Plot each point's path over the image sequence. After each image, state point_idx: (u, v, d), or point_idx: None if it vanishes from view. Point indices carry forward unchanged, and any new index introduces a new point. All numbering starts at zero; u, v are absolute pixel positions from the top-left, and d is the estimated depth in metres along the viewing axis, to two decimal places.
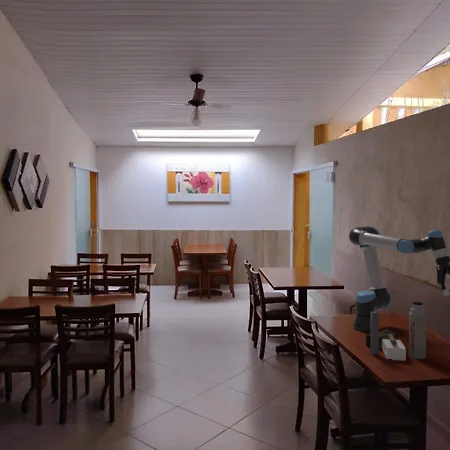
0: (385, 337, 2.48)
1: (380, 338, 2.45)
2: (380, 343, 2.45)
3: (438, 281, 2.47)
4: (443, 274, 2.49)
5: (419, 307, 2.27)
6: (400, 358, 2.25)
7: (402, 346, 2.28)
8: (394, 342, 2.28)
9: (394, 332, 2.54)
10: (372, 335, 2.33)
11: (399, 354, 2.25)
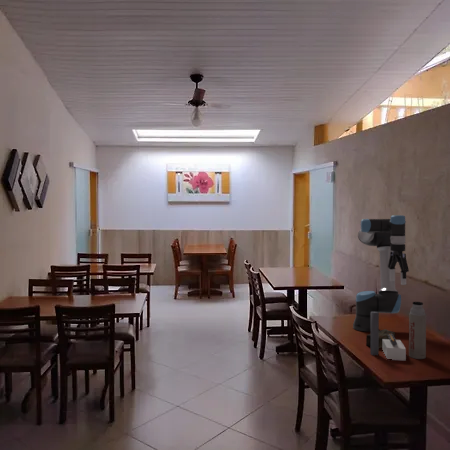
0: (385, 337, 2.48)
1: (381, 338, 2.45)
2: (381, 343, 2.45)
3: None
4: None
5: (419, 307, 2.27)
6: (400, 358, 2.25)
7: (402, 346, 2.28)
8: (394, 342, 2.28)
9: (393, 332, 2.55)
10: (372, 335, 2.33)
11: (399, 354, 2.25)
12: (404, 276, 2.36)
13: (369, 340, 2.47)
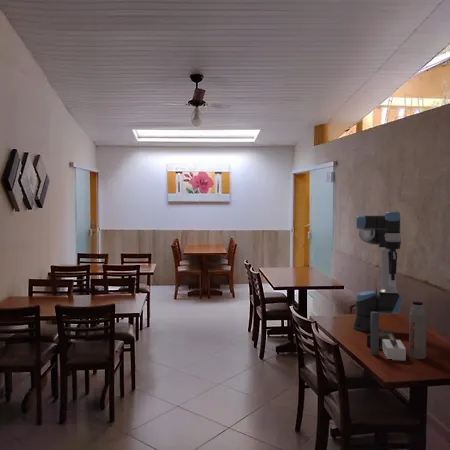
0: (385, 337, 2.48)
1: (382, 338, 2.45)
2: None
3: None
4: None
5: (419, 307, 2.27)
6: (400, 358, 2.25)
7: (402, 346, 2.28)
8: (394, 342, 2.28)
9: (392, 331, 2.56)
10: (372, 335, 2.33)
11: (399, 354, 2.25)
12: (392, 278, 2.34)
13: (370, 340, 2.46)
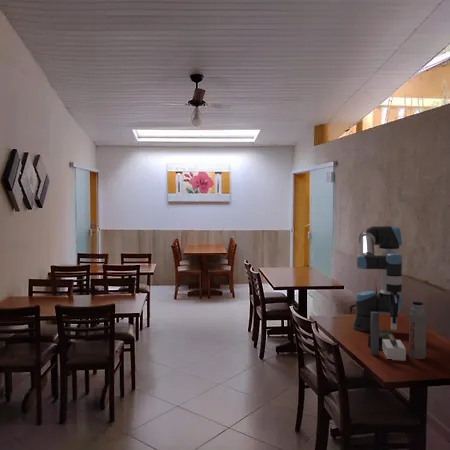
0: (386, 336, 2.49)
1: (383, 338, 2.45)
2: None
3: None
4: None
5: (419, 307, 2.27)
6: (400, 358, 2.25)
7: (402, 346, 2.28)
8: (394, 342, 2.28)
9: (389, 331, 2.57)
10: (372, 335, 2.33)
11: (399, 354, 2.25)
12: (394, 321, 2.30)
13: None
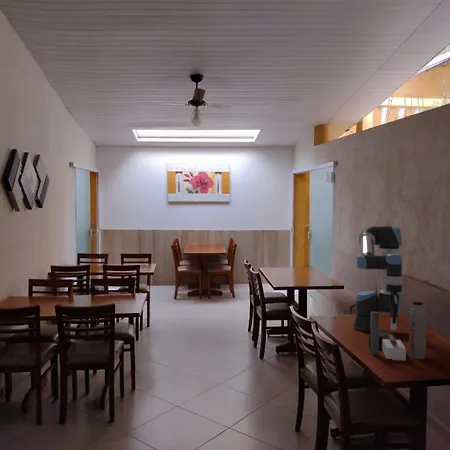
0: (386, 336, 2.49)
1: (384, 338, 2.45)
2: None
3: None
4: None
5: (419, 307, 2.27)
6: (400, 358, 2.25)
7: (402, 346, 2.28)
8: (394, 342, 2.28)
9: (388, 330, 2.58)
10: (372, 335, 2.33)
11: (399, 354, 2.25)
12: (394, 321, 2.30)
13: None
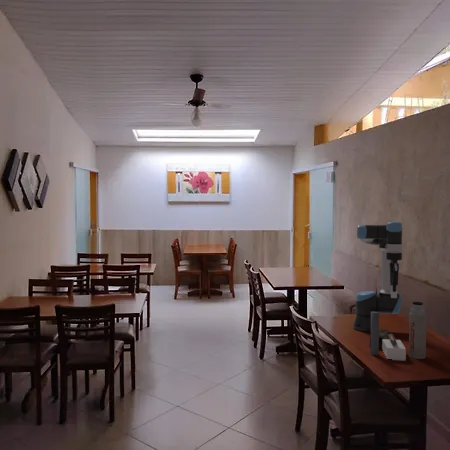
0: (386, 336, 2.49)
1: (385, 338, 2.45)
2: None
3: None
4: None
5: (419, 307, 2.27)
6: (400, 358, 2.25)
7: (402, 346, 2.28)
8: (394, 342, 2.28)
9: (387, 330, 2.59)
10: (372, 335, 2.33)
11: (399, 354, 2.25)
12: (394, 289, 2.30)
13: None
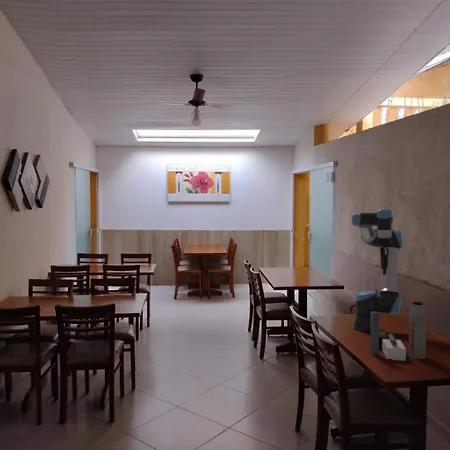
0: None
1: None
2: None
3: None
4: None
5: (419, 307, 2.27)
6: (400, 358, 2.25)
7: (402, 346, 2.28)
8: (394, 342, 2.28)
9: (384, 330, 2.60)
10: (372, 335, 2.33)
11: (399, 354, 2.25)
12: (384, 272, 2.46)
13: None
